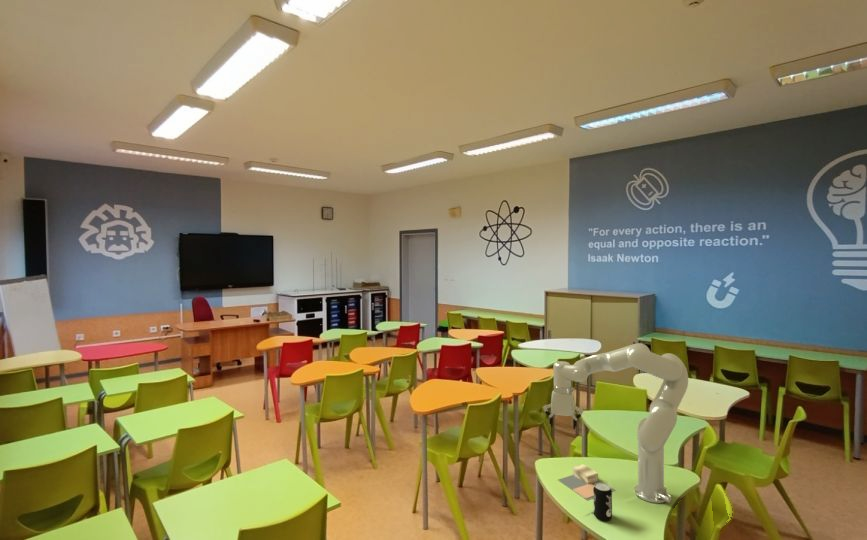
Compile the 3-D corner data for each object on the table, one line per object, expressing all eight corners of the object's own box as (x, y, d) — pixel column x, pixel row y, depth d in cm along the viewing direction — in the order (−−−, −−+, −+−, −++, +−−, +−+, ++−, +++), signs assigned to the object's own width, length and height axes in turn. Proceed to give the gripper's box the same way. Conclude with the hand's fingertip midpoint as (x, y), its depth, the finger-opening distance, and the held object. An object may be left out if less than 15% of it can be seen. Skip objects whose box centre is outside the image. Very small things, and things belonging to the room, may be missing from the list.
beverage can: (602, 524, 159) (602, 492, 159) (589, 514, 165) (589, 484, 165) (616, 519, 162) (615, 488, 161) (602, 510, 168) (602, 480, 167)
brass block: (598, 481, 188) (597, 473, 188) (587, 484, 185) (587, 476, 185) (583, 471, 196) (582, 464, 196) (572, 474, 193) (572, 467, 193)
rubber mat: (616, 492, 180) (616, 490, 180) (587, 501, 173) (587, 500, 173) (584, 472, 196) (584, 470, 196) (557, 481, 190) (557, 479, 190)
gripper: (582, 388, 193) (583, 425, 193) (543, 385, 199) (544, 421, 199) (582, 393, 186) (583, 432, 186) (541, 390, 191) (542, 428, 192)
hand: (563, 426), depth 193 cm, fingers open, 9 cm apart
